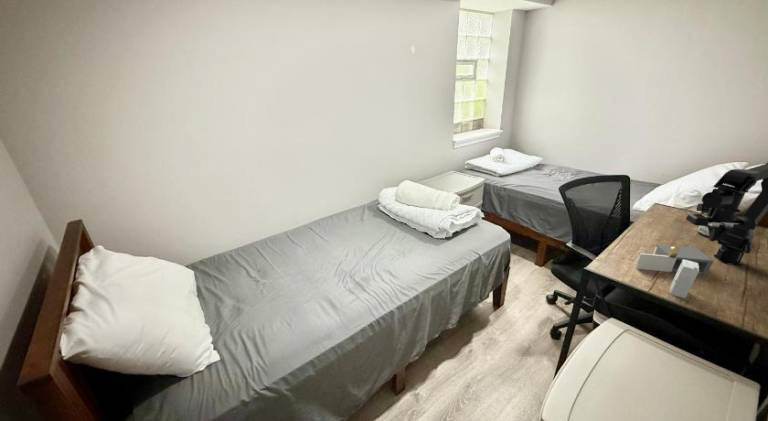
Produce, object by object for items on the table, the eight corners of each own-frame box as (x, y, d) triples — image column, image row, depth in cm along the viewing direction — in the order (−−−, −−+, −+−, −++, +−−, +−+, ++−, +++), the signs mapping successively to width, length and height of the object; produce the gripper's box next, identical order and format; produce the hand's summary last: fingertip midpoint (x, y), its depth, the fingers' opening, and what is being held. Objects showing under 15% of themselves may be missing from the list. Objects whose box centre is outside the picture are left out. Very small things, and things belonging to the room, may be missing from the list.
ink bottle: (691, 230, 155) (700, 208, 151) (710, 230, 155) (720, 208, 150) (708, 239, 147) (718, 216, 142) (728, 240, 146) (739, 217, 141)
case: (690, 261, 130) (696, 247, 128) (706, 274, 121) (713, 260, 119) (651, 257, 133) (656, 244, 131) (664, 270, 124) (670, 256, 122)
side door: (668, 269, 124) (678, 246, 120) (672, 273, 122) (681, 249, 118) (634, 266, 127) (642, 243, 123) (637, 269, 125) (645, 246, 121)
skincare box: (669, 286, 115) (681, 258, 111) (686, 290, 113) (698, 262, 108) (669, 294, 111) (681, 265, 106) (686, 299, 108) (699, 270, 104)
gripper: (742, 198, 120) (725, 233, 127) (684, 195, 125) (671, 229, 131) (766, 209, 111) (747, 247, 117) (703, 205, 115) (687, 242, 121)
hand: (711, 240), depth 122 cm, fingers closed
